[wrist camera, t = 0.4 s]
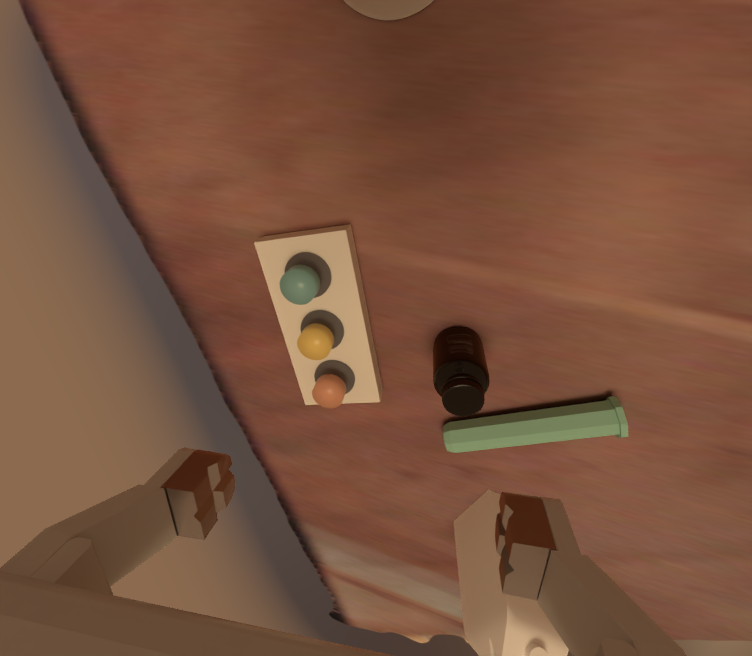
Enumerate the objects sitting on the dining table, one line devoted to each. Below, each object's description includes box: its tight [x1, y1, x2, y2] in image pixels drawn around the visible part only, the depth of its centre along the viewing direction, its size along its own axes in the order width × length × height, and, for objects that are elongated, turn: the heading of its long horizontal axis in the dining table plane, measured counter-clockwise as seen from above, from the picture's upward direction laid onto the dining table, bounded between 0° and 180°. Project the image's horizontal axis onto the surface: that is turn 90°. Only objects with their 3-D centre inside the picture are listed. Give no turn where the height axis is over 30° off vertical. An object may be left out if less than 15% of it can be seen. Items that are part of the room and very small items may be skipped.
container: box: [443, 396, 628, 453], centre depth 55 cm, size 6×6×25 cm
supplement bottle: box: [433, 327, 489, 417], centre depth 48 cm, size 7×7×12 cm
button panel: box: [254, 224, 383, 405], centre depth 52 cm, size 26×12×4 cm, turn 9°
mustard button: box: [297, 323, 334, 360], centre depth 48 cm, size 4×4×2 cm
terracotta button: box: [312, 374, 346, 408], centre depth 52 cm, size 4×4×2 cm
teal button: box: [280, 265, 320, 305], centre depth 45 cm, size 4×4×2 cm
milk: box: [453, 489, 569, 656], centre depth 58 cm, size 12×12×26 cm
